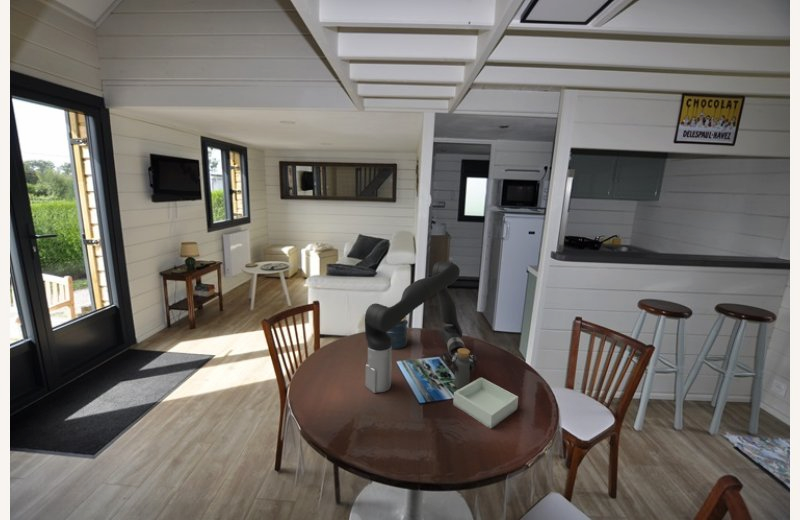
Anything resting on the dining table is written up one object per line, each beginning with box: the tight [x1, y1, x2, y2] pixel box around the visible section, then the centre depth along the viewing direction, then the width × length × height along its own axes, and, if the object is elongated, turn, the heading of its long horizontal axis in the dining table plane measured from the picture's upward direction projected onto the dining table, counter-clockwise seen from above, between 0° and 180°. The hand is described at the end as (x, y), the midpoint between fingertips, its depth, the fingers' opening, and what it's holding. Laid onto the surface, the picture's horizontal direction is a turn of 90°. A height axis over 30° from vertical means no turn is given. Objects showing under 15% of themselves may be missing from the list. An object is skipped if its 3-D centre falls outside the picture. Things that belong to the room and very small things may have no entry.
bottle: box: [453, 348, 471, 390], centre depth 130 cm, size 6×6×15 cm
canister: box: [386, 316, 409, 350], centre depth 165 cm, size 13×13×18 cm
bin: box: [452, 376, 519, 430], centre depth 118 cm, size 16×16×5 cm
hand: (464, 369), depth 127 cm, fingers closed on bottle, 5 cm apart
